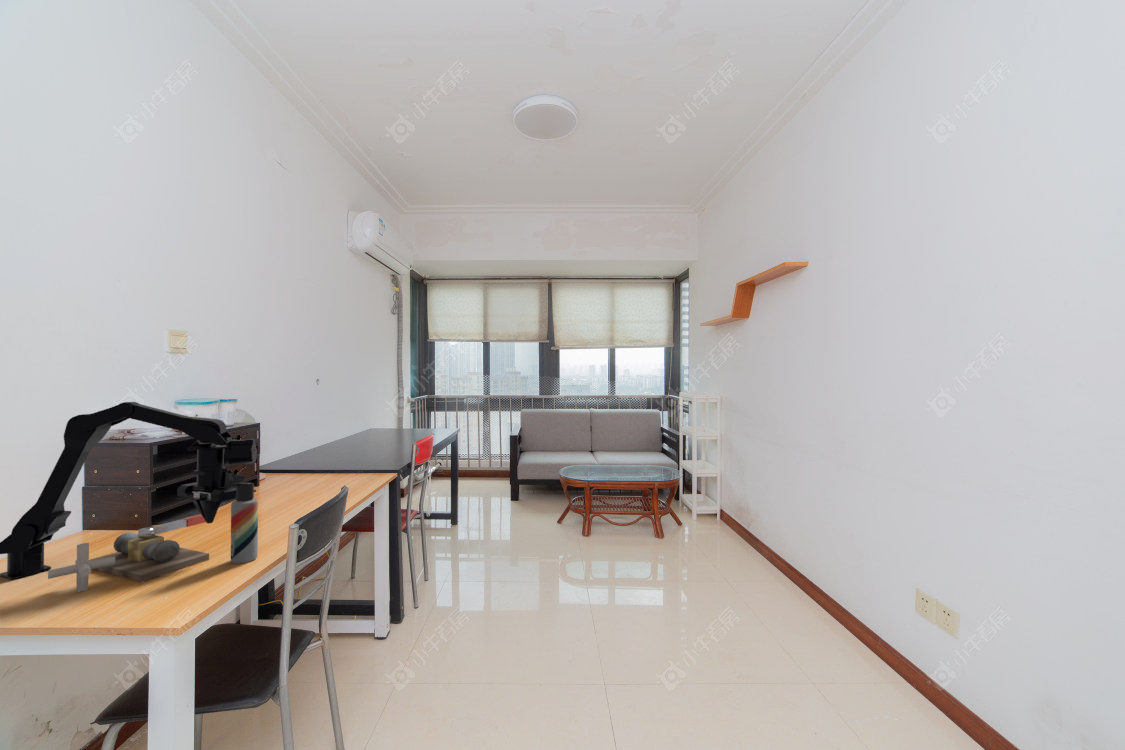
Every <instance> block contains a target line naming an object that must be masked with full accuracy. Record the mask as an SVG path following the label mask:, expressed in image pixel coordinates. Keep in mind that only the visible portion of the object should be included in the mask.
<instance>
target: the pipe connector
mask: <svg viewBox="0 0 1125 750" xmlns="http://www.w3.org/2000/svg"><path fill="white" fill-rule="evenodd" d="M89 553H90V543H89V542H84V543H83V542H81V543H79V544H76V560H75V562H74V563H75V564H72V565H68V566H67V565H66V566H63V567H58V568H53V569H49V570H47V580H50V579H54V578H59V577H64V576H68V575H72V574H76V580H75V581H76V584H75V586H76V589H75V591H76V592H77V593H80V592H84V591H87V590H89V578H90V577H89V575H90V574H91V572H92V570H95V568H100V567H104V566H108V565H113V564H115V556H113V557H108V558H104V559H99V560H94V561H90V562H89V560H90V554H89Z"/></svg>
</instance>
